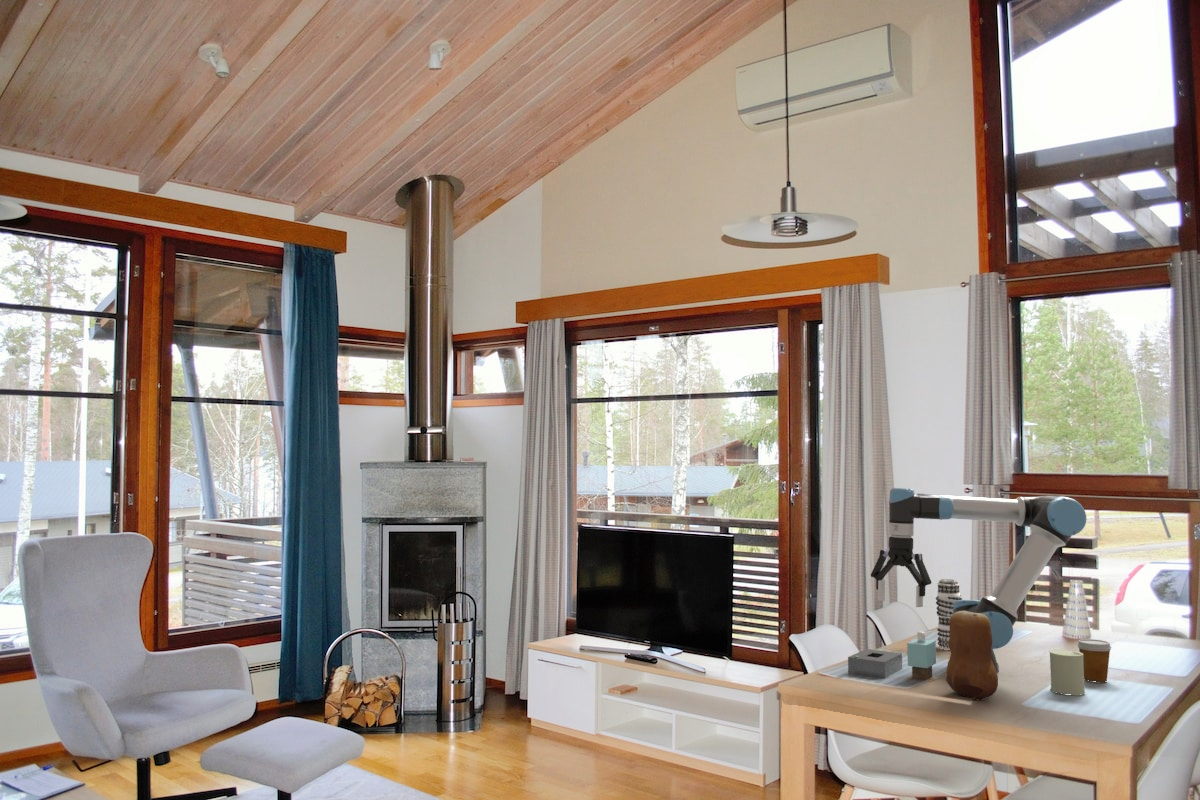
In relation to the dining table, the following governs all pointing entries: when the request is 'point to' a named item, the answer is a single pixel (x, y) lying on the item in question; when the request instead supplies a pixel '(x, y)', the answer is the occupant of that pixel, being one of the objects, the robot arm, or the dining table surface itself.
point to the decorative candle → (946, 609)
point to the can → (1067, 672)
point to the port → (875, 663)
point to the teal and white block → (921, 652)
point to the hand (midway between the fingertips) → (900, 603)
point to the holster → (922, 674)
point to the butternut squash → (971, 656)
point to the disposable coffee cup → (1095, 659)
